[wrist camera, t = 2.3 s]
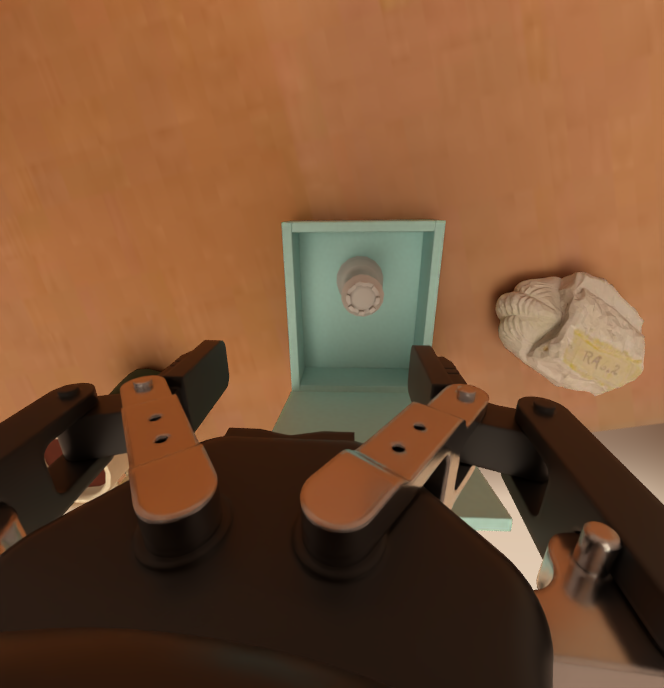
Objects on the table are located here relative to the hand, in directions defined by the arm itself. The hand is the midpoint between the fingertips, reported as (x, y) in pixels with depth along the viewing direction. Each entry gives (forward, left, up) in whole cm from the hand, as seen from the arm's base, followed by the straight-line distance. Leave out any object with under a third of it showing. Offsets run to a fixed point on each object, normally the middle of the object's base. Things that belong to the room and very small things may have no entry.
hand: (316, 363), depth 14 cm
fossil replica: (+4, +21, -20) cm, 29 cm away
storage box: (+2, +2, -20) cm, 20 cm away
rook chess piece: (0, +2, -19) cm, 19 cm away
